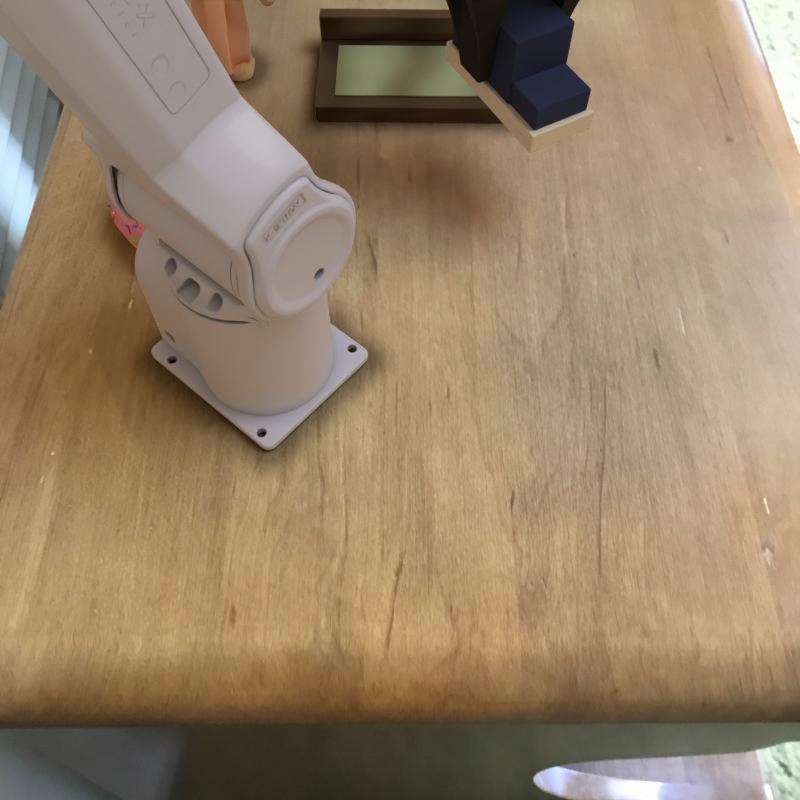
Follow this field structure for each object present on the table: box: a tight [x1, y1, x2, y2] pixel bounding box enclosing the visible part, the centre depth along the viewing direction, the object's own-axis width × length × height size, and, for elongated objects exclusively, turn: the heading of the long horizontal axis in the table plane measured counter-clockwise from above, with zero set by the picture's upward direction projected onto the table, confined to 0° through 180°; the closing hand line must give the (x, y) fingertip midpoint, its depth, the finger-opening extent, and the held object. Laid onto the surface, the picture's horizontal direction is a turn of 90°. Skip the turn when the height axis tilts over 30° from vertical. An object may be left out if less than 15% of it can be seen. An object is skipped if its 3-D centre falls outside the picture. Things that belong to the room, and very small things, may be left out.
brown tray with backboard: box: [314, 8, 503, 124], centre depth 57 cm, size 13×8×3 cm, turn 89°
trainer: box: [446, 0, 594, 154], centre depth 45 cm, size 9×4×5 cm, turn 29°
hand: (505, 59), depth 47 cm, fingers closed on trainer, 3 cm apart
